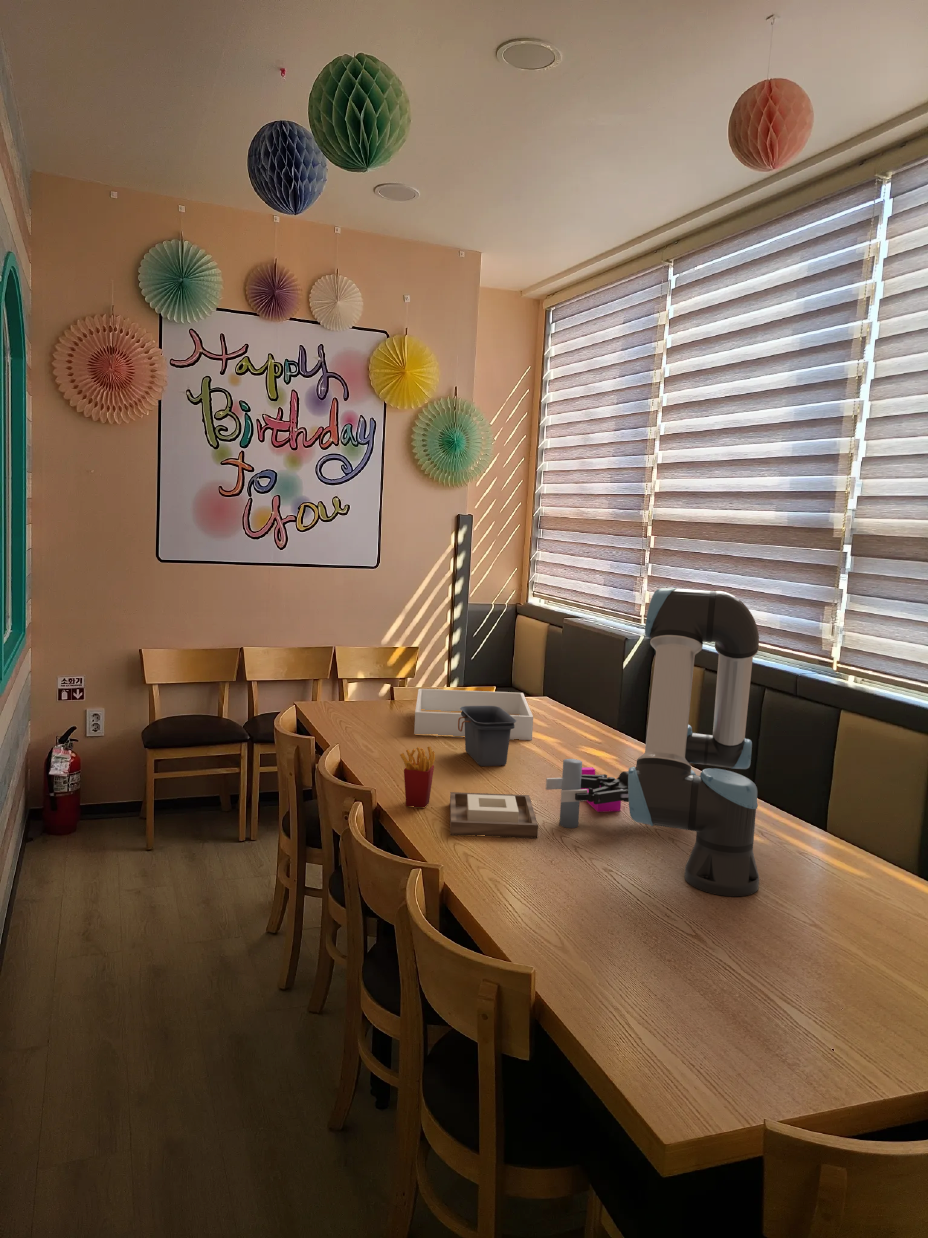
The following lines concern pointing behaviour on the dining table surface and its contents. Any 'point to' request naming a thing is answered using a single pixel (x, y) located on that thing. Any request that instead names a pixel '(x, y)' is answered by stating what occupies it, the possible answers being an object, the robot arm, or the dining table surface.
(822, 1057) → the dining table surface
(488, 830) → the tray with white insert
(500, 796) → the bore block
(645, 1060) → the dining table surface
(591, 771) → the toy block
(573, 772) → the peg
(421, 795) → the french fries
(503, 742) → the storage bin
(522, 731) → the white shallow tray
